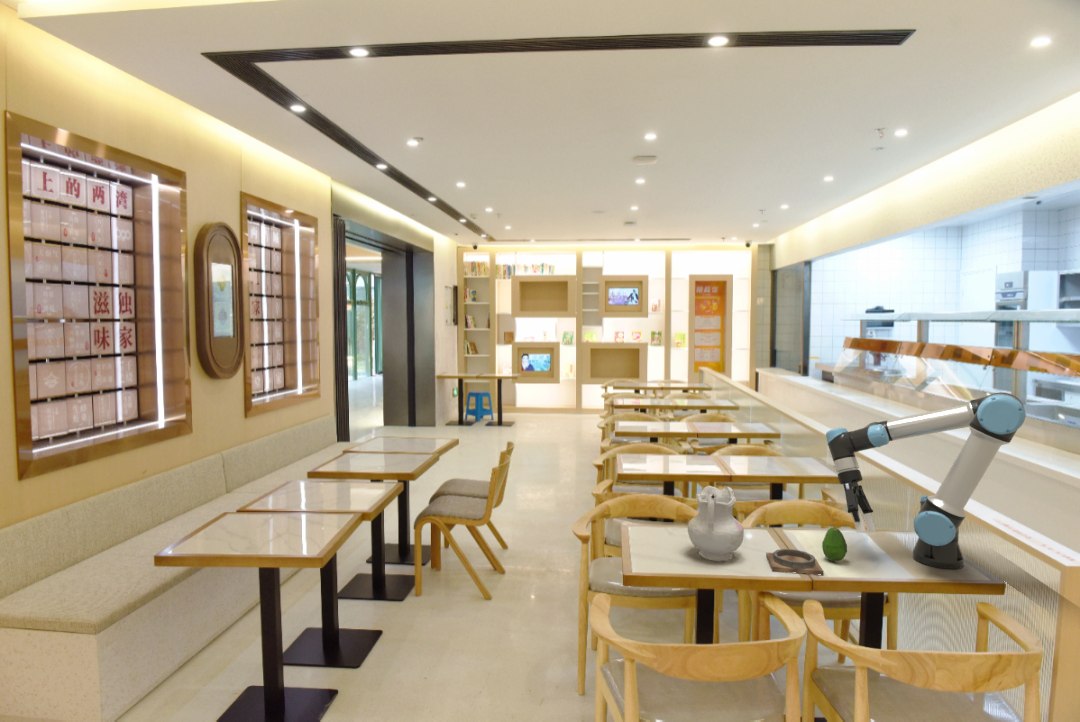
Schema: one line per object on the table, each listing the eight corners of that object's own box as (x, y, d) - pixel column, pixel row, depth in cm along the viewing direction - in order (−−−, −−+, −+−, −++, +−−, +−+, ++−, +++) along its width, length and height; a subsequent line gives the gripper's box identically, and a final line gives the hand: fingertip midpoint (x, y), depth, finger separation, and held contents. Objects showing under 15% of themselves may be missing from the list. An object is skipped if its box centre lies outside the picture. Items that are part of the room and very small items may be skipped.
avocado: (818, 561, 218) (819, 527, 218) (826, 555, 224) (827, 522, 224) (842, 567, 213) (844, 532, 212) (849, 560, 219) (850, 527, 218)
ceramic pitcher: (744, 573, 210) (752, 501, 208) (686, 564, 213) (693, 493, 212) (737, 551, 231) (744, 485, 229) (684, 543, 235) (691, 478, 233)
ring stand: (813, 560, 219) (814, 550, 219) (823, 575, 205) (823, 565, 205) (766, 556, 222) (766, 546, 222) (772, 571, 209) (772, 561, 208)
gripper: (847, 476, 233) (866, 534, 225) (826, 471, 215) (844, 533, 207) (868, 471, 228) (888, 530, 220) (848, 465, 210) (868, 529, 202)
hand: (867, 532), depth 213 cm, fingers open, 13 cm apart
